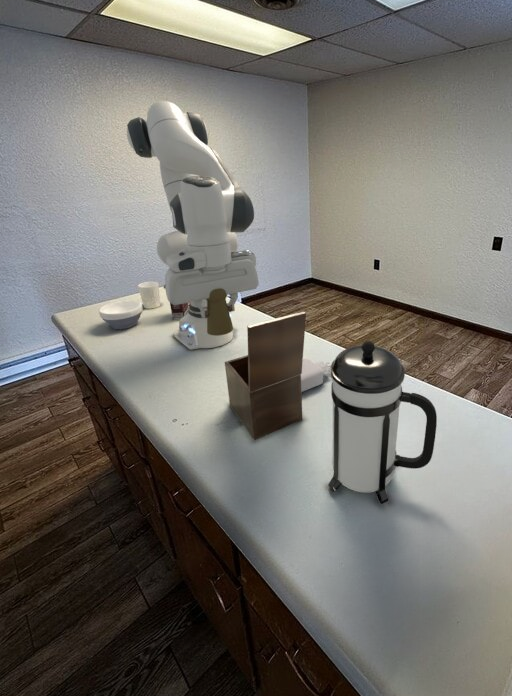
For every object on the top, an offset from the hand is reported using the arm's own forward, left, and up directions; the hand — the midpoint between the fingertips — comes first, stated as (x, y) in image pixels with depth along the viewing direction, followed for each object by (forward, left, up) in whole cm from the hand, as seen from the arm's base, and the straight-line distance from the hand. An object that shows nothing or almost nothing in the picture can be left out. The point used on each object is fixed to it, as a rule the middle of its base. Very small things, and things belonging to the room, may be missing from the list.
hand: (218, 313), depth 84 cm
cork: (0, 0, -4) cm, 4 cm away
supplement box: (-63, +27, -26) cm, 73 cm away
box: (+9, +3, -26) cm, 27 cm away
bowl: (-73, +9, -26) cm, 78 cm away
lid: (+18, 0, -4) cm, 18 cm away
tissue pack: (+10, +21, -26) cm, 35 cm away
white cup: (-83, +26, -26) cm, 90 cm away
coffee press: (+40, +1, -26) cm, 48 cm away
